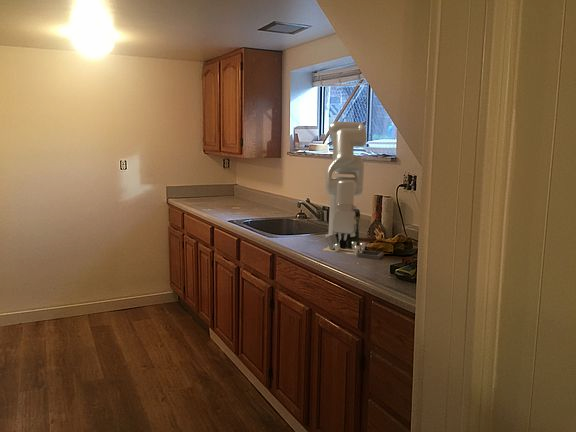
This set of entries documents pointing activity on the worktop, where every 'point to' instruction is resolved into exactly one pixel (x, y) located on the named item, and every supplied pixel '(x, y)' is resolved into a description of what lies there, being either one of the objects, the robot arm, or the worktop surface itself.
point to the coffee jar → (356, 237)
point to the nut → (332, 241)
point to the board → (347, 251)
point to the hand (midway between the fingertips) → (342, 248)
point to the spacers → (354, 247)
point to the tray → (370, 254)
